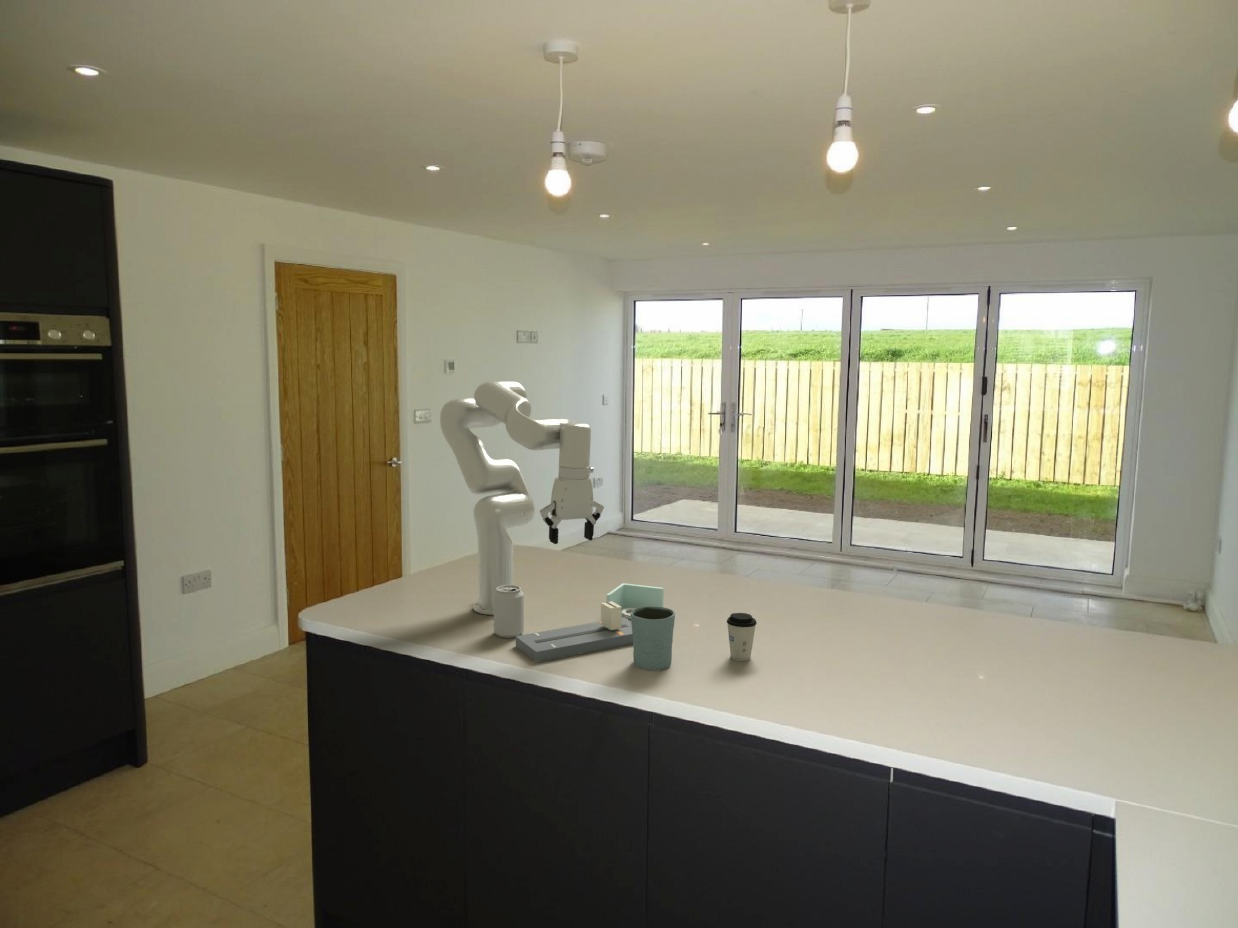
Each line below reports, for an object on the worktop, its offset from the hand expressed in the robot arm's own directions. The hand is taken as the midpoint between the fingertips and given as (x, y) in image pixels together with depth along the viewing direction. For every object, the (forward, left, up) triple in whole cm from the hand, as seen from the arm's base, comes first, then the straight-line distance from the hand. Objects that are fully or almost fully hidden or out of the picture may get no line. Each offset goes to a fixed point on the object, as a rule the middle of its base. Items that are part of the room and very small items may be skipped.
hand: (571, 540), depth 204 cm
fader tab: (+8, +7, -21) cm, 23 cm away
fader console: (+8, -1, -24) cm, 25 cm away
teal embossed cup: (+27, +7, -24) cm, 37 cm away
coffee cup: (+34, +27, -24) cm, 50 cm away
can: (-7, -14, -24) cm, 29 cm away
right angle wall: (-4, +22, -25) cm, 33 cm away
